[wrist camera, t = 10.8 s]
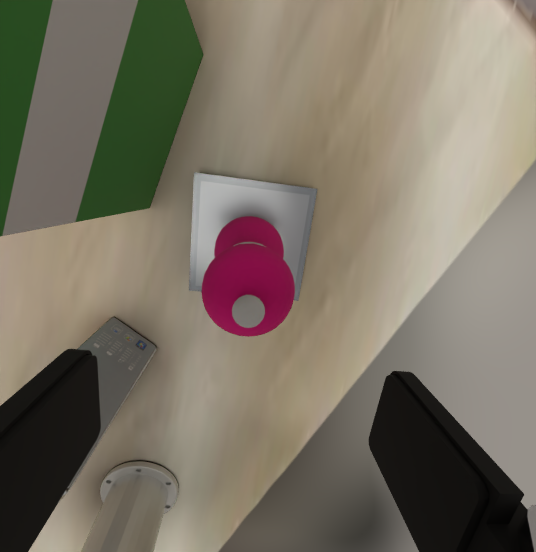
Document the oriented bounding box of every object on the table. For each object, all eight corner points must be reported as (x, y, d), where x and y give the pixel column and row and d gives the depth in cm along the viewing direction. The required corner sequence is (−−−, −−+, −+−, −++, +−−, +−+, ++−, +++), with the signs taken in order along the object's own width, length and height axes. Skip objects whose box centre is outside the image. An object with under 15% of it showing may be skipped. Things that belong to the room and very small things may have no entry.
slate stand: (295, 293, 38) (298, 301, 36) (192, 283, 37) (188, 290, 34) (312, 188, 34) (317, 188, 32) (198, 173, 33) (193, 172, 30)
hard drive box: (113, 313, 38) (-27, 441, 19) (159, 346, 39) (75, 492, 20) (50, 385, 40) (-126, 560, 21) (96, 412, 42) (-28, 595, 23)
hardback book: (149, 207, 34) (-63, 248, 11) (87, 180, 32) (-304, 159, 9) (203, 54, 29) (38, -420, 6) (134, 14, 28) (-380, -761, 5)
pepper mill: (290, 230, 33) (345, 287, 14) (262, 281, 35) (277, 395, 16) (234, 201, 31) (211, 221, 12) (209, 256, 33) (154, 348, 14)
